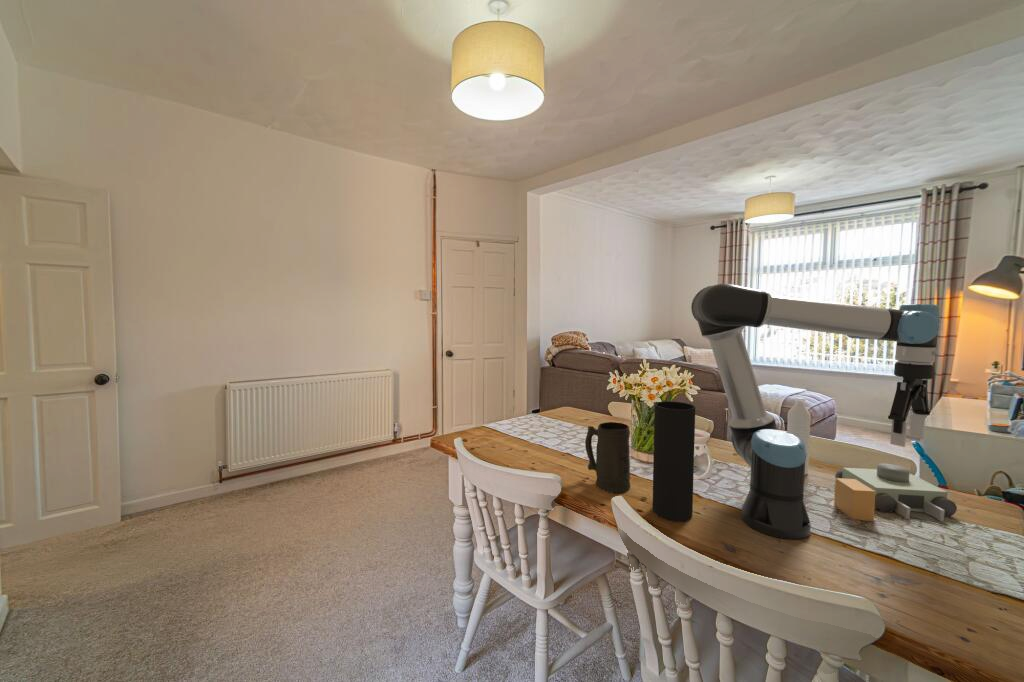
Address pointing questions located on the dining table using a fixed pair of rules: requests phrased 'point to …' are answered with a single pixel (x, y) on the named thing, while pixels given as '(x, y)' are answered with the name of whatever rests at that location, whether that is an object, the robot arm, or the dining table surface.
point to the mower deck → (901, 491)
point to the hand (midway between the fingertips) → (907, 441)
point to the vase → (673, 460)
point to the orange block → (854, 499)
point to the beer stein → (610, 456)
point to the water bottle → (800, 425)
